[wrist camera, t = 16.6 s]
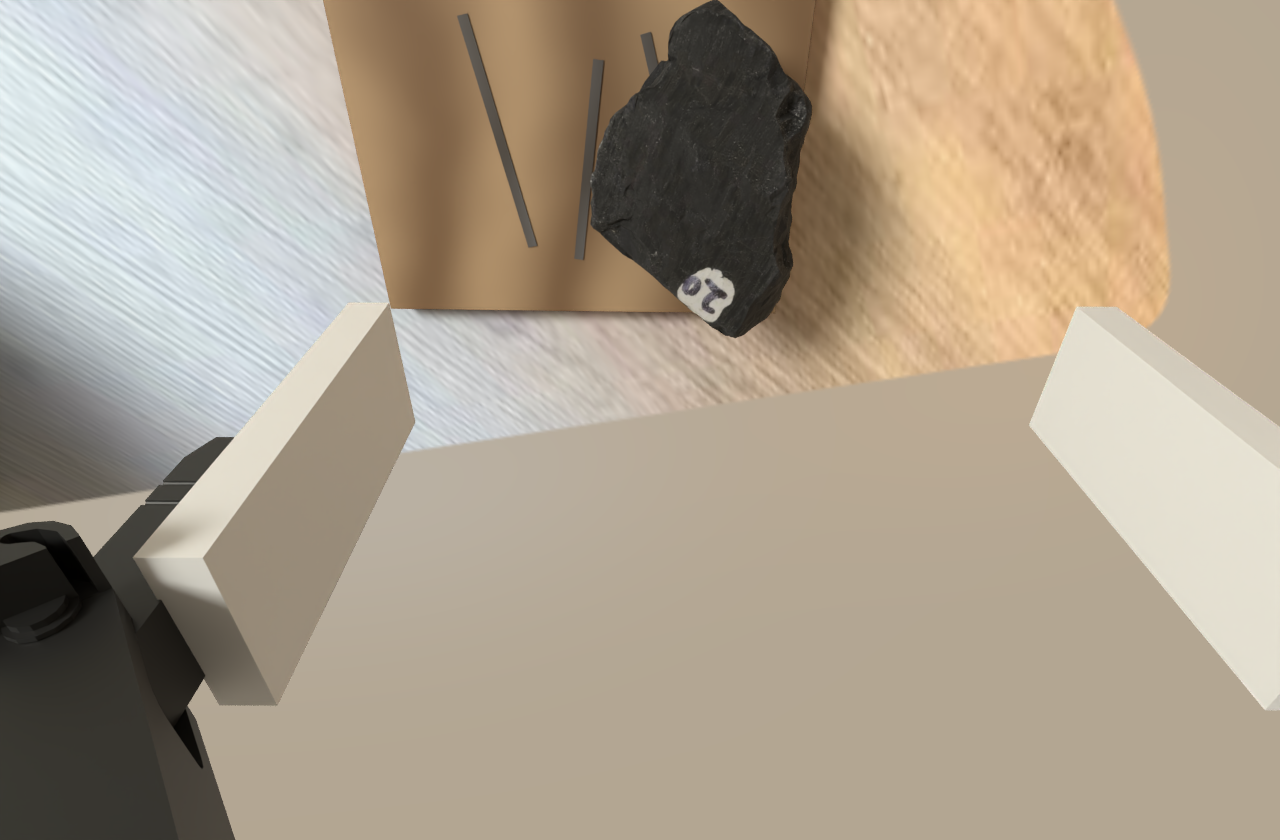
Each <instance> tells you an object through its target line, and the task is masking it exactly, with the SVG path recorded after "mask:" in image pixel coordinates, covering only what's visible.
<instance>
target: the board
mask: <svg viewBox="0 0 1280 840" xmlns="http://www.w3.org/2000/svg"><path fill="white" fill-rule="evenodd" d="M709 1H712V0H323V2H324V6H325V11H326V15H327V20H328V25H329V29H330V34H331V38H332V43H333V47H334V52H335V56H336V61H337V65H338V70H339V74H340V79H341V84H342V88H343V93H344V97H345V102H346V106H347V111H348V115H349V120H350V124H351V129H352V133H353V138H354V143H355V147H356V152H357V156H358V161H359V165H360V170H361V174H362V179H363V183H364V188H365V192H366V197H367V202H368V206H369V211H370V215H371V220H372V224H373V229H374V233H375V238H376V242H377V247H378V251H379V256H380V261H381V265H382V270H383V274H384V279H385V283H386V288H387V292H388V297H389V301H390V306H391V309H466V310H545V311H624V312H692V311H691V310H690V309H689V308H688V307H687V306H686V305H684V304H683V303H682V302H681V301H680V300H678V299H677V298H676V297H675V296H674V295H673V294H672V293H671V292H670V291H668V290H667V289H666V288H665V287H664V286H662V285H661V284H660V283H659V282H658V281H657V280H656V279H655V278H654V277H653V276H652V275H651V274H650V273H648V272H647V271H646V270H644V269H643V268H642V267H641V266H639V265H638V264H637V263H635V262H634V261H633V260H631V259H629V258H628V257H626V256H624V255H623V254H622V253H621V252H619V251H618V250H617V249H616V248H615V247H614V246H613V245H612V244H611V243H609V242H608V241H607V240H606V239H605V238H604V237H603V236H602V235H601V234H600V233H599V232H598V231H596V230H595V229H593V228H592V226H591V225H590V222H591V216H592V213H591V204H590V203H591V199H592V195H593V194H592V189H591V184H590V181H591V175H592V173H593V172H594V171H595V165H596V160H597V151H598V148H599V145H600V143H601V141H602V139H603V137H604V132H605V130H606V128H607V126H608V125H609V121H610V119H611V117H612V116H613V115H614V114H615V113H616V112H617V111H618V110H620V109H621V108H622V107H624V106H625V105H626V104H627V103H628V101H629V99H630V98H631V97H632V96H633V95H634V94H635V93H638V92H639V91H640V89H641V87H642V85H643V84H644V82H645V81H646V79H647V78H648V77H649V76H650V74H651V73H652V72H653V70H654V69H655V68H656V67H657V65H658V64H659V63H660V61H661V60H662V61H667V60H668V40H669V34H670V30H671V29H672V27H673V25H674V24H675V22H676V21H677V20H678V19H679V18H680V17H681V16H682V15H684V14H686V13H688V12H689V11H691V10H693V9H695V8H696V7H698V6H700V5H702V4H704V3H706V2H709ZM718 1H720V2H721V3H722V4H723V5H724V6H725V7H726V8H727V9H729V10H730V11H731V12H732V13H733V14H735V15H736V16H737V17H738V19H739V20H740V21H741V22H742V23H743V24H744V25H745V26H747V27H748V28H750V29H751V30H752V31H754V32H755V33H756V34H757V35H758V36H759V37H760V38H762V39H763V40H764V41H765V42H766V43H767V44H768V45H769V46H770V47H771V48H772V50H773V51H774V53H775V54H776V56H777V58H778V61H779V63H780V65H781V67H782V69H783V71H784V73H785V74H787V75H788V76H790V77H791V78H792V79H794V80H795V81H796V82H797V83H798V84H799V86H800V87H801V89H802V90H803V92H804V86H805V79H806V71H807V63H808V55H809V48H810V40H811V32H812V24H813V17H814V9H815V1H816V0H718ZM775 310H776V305H775V307H774V309H773V311H772V312H771V313H775Z"/></svg>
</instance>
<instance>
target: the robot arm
mask: <svg viewBox="0 0 1280 840" xmlns="http://www.w3.org/2000/svg"><path fill="white" fill-rule="evenodd" d="M414 424H415V418H414V414H413V409H412V405H411V400H410V396H409V391H408V387H407V382H406V377H405V373H404V368H403V364H402V359H401V355H400V350H399V346H398V341H397V337H396V332H395V328H394V323H393V319H392V314H391V310H390V305H389V303H348V304H347V305H346V307H345V308H344V309H343V310H342V311H341V312H340V314H339V315H338V316H337V317H336V318H335V319H334V321H333V322H332V323H331V324H330V325H329V327H328V328H327V329H326V330H325V331H324V332H323V334H322V335H321V336H320V337H319V338H318V340H317V341H316V342H315V343H314V344H313V345H312V347H311V348H310V349H309V350H308V351H307V353H306V354H305V355H304V356H303V357H302V358H301V360H300V361H299V362H298V363H297V364H296V365H295V367H294V368H293V369H292V370H291V371H290V373H289V374H288V375H287V376H286V377H285V378H284V380H283V381H282V382H281V383H280V384H279V386H278V387H277V388H276V389H275V390H274V391H273V393H272V394H271V395H270V396H269V397H268V399H267V400H266V401H265V402H264V403H263V404H262V406H261V407H260V408H259V409H258V410H257V412H256V413H255V414H254V415H253V416H252V417H251V419H250V420H249V421H248V422H247V423H246V424H245V426H244V427H243V428H242V429H241V430H240V432H239V433H238V434H237V435H236V436H235V437H216V438H214V439H213V440H211V441H210V442H208V443H206V444H205V445H203V446H202V447H200V448H198V449H197V450H195V451H194V452H192V453H191V454H189V455H187V456H186V457H184V458H183V460H182V461H181V462H180V463H179V464H178V465H177V466H176V467H175V468H174V469H173V471H172V472H171V473H170V474H169V475H168V476H167V477H166V478H165V479H164V480H163V482H164V483H163V485H159V486H158V487H157V488H156V489H155V490H154V491H153V492H152V494H151V495H150V496H149V497H148V498H147V499H146V500H145V501H146V504H145V505H141V506H140V507H139V508H138V509H137V510H136V511H135V512H134V513H133V514H132V515H131V516H130V518H129V519H128V520H127V521H126V522H125V523H124V524H123V525H122V526H121V528H120V529H119V530H118V531H117V532H116V533H115V534H114V535H113V536H112V537H111V538H110V540H109V541H108V542H107V543H106V544H105V545H104V546H103V547H102V549H100V550H99V552H98V553H97V554H96V555H95V556H94V557H93V556H92V555H91V553H90V551H89V550H88V548H87V547H86V545H85V544H84V542H83V540H82V539H81V537H80V536H79V534H78V533H77V532H76V531H75V529H74V528H73V527H72V526H71V525H67V524H63V523H59V522H55V521H47V522H32V523H26V524H22V525H19V526H15V527H11V528H7V529H4V530H0V840H235V838H234V835H233V832H232V829H231V825H230V823H229V820H228V816H227V813H226V810H225V807H224V804H223V801H222V798H221V795H220V792H219V789H218V786H217V782H216V779H215V777H214V773H213V770H212V767H211V764H210V761H209V758H208V755H207V752H206V749H205V746H204V743H203V740H202V736H201V733H200V730H199V727H198V724H197V721H196V719H195V717H194V715H193V714H192V712H191V711H190V709H189V708H188V706H187V705H188V704H189V702H190V700H191V699H192V697H193V695H194V694H195V692H196V690H197V689H198V687H199V685H200V684H201V682H202V681H203V679H204V680H205V681H206V683H207V685H208V686H209V688H210V690H211V691H212V693H213V695H214V697H215V698H216V700H217V702H218V703H219V705H278V703H279V701H280V699H281V697H282V695H283V693H284V691H285V689H286V687H287V685H288V683H289V681H290V678H291V676H292V674H293V672H294V670H295V668H296V666H297V664H298V662H299V660H300V658H301V656H302V654H303V652H304V650H305V648H306V646H307V644H308V641H309V639H310V637H311V635H312V633H313V631H314V629H315V627H316V625H317V623H318V621H319V619H320V617H321V615H322V613H323V611H324V608H325V607H326V604H327V602H328V600H329V598H330V596H331V594H332V592H333V590H334V588H335V586H336V584H337V582H338V580H339V578H340V576H341V574H342V572H343V569H344V567H345V565H346V563H347V561H348V559H349V557H350V555H351V553H352V551H353V549H354V547H355V545H356V543H357V541H358V539H359V537H360V535H361V533H362V530H363V528H364V526H365V524H366V522H367V520H368V518H369V516H370V514H371V512H372V510H373V508H374V506H375V504H376V502H377V500H378V498H379V496H380V494H381V491H382V489H383V487H384V485H385V483H386V481H387V479H388V477H389V475H390V473H391V471H392V469H393V467H394V464H395V463H396V461H397V459H398V456H399V454H400V452H401V450H402V448H403V446H404V444H405V442H406V440H407V438H408V436H409V434H410V432H411V430H412V428H413V426H414ZM1029 426H1030V427H1031V428H1032V429H1033V431H1034V432H1035V433H1036V434H1037V436H1038V437H1039V438H1040V439H1041V440H1042V442H1043V443H1044V444H1045V445H1046V446H1047V448H1048V449H1049V450H1050V451H1051V452H1052V454H1053V455H1054V456H1055V457H1056V458H1057V460H1058V461H1059V462H1060V463H1061V464H1062V466H1063V467H1064V468H1065V469H1066V471H1067V472H1068V473H1069V474H1070V475H1071V477H1072V478H1073V479H1074V480H1075V481H1076V483H1077V484H1078V485H1079V486H1080V487H1081V489H1082V490H1083V491H1084V492H1085V493H1086V495H1087V496H1088V497H1089V498H1090V500H1091V501H1092V502H1093V503H1094V504H1095V505H1096V507H1097V508H1098V509H1099V510H1100V512H1101V513H1102V514H1103V515H1104V516H1105V518H1106V519H1107V520H1108V521H1109V522H1110V524H1111V525H1112V526H1113V527H1114V528H1115V530H1116V531H1117V532H1118V533H1119V535H1121V537H1122V538H1123V539H1124V541H1125V542H1126V543H1127V544H1128V545H1129V546H1130V548H1131V549H1132V550H1133V551H1134V552H1135V554H1136V555H1137V556H1138V557H1139V559H1140V560H1141V561H1142V562H1143V563H1144V565H1145V566H1146V567H1147V568H1148V569H1149V571H1150V572H1151V573H1152V574H1153V576H1154V577H1155V578H1156V579H1157V580H1158V582H1159V583H1160V584H1161V585H1162V586H1163V587H1164V589H1165V590H1166V591H1167V592H1168V594H1169V595H1170V596H1171V597H1172V598H1173V599H1174V601H1175V602H1176V603H1177V605H1178V606H1179V607H1180V608H1181V609H1182V611H1183V612H1184V613H1185V614H1186V615H1187V616H1188V618H1189V619H1190V620H1191V621H1192V622H1193V624H1194V625H1195V626H1196V627H1197V629H1198V630H1199V631H1200V632H1201V633H1202V634H1203V636H1204V637H1205V638H1206V639H1207V641H1208V642H1209V643H1210V644H1211V645H1212V647H1213V648H1214V649H1215V650H1216V652H1217V653H1218V654H1219V655H1220V656H1221V657H1222V659H1223V660H1224V661H1225V662H1226V664H1227V665H1228V666H1229V667H1230V668H1231V670H1232V671H1233V672H1234V673H1235V675H1236V676H1237V677H1238V678H1239V679H1240V681H1241V682H1242V683H1243V684H1244V685H1245V687H1246V688H1247V689H1248V690H1249V691H1250V692H1251V694H1252V695H1253V696H1254V697H1255V699H1256V700H1257V701H1258V702H1259V703H1260V705H1261V706H1262V707H1263V708H1264V710H1280V427H1279V426H1278V425H1276V424H1275V423H1274V422H1272V421H1271V420H1270V419H1268V418H1267V417H1265V416H1264V415H1263V414H1261V413H1260V412H1259V411H1257V410H1256V409H1255V408H1253V407H1252V406H1251V405H1249V404H1248V403H1247V402H1245V401H1244V400H1242V399H1241V398H1240V397H1238V396H1237V395H1235V394H1234V393H1233V392H1232V391H1230V390H1229V389H1227V388H1226V387H1225V386H1223V385H1222V384H1221V383H1219V382H1218V381H1216V380H1215V379H1214V378H1213V377H1211V376H1210V375H1208V374H1207V373H1206V372H1204V371H1203V370H1202V369H1200V368H1199V367H1198V366H1196V365H1195V364H1193V363H1192V362H1191V361H1189V360H1188V359H1187V358H1185V357H1184V356H1183V355H1181V354H1180V353H1179V352H1177V351H1176V350H1174V349H1173V348H1172V347H1170V346H1169V345H1168V344H1166V343H1165V342H1163V341H1162V340H1161V339H1159V338H1158V337H1157V336H1155V335H1154V334H1153V333H1151V332H1150V331H1149V330H1147V329H1146V328H1145V327H1143V326H1142V325H1140V324H1139V323H1138V322H1136V321H1135V320H1134V319H1132V318H1131V317H1130V316H1128V315H1127V314H1126V313H1124V312H1123V311H1121V310H1120V309H1119V308H1117V307H1076V310H1075V312H1074V315H1073V317H1072V320H1071V322H1070V325H1069V327H1068V330H1067V332H1066V335H1065V337H1064V340H1063V342H1062V345H1061V347H1060V350H1059V352H1058V355H1057V357H1056V360H1055V362H1054V365H1053V367H1052V369H1051V372H1050V375H1049V377H1048V379H1047V382H1046V384H1045V387H1044V389H1043V392H1042V394H1041V397H1040V399H1039V402H1038V404H1037V407H1036V409H1035V412H1034V414H1033V417H1032V419H1031V422H1030V424H1029Z"/></svg>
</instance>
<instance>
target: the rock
mask: <svg viewBox="0 0 1280 840" xmlns="http://www.w3.org/2000/svg"><path fill="white" fill-rule="evenodd" d="M811 115H812V105H811V102H810V100H809V98H808V97H807V96H806V94H805V93H804V92H803V90H802V89H801V87H800V86H799V84H798V83H797V82H796V81H795V80H794V79H792V78H791V77H790V76H788V75H787V74H785V73H784V71H783V69H782V67H781V65H780V63H779V61H778V58H777V56H776V54H775V53H774V51H773V50H772V48H771V47H770V46H769V45H768V44H767V43H766V42H765V41H764V40H763V39H762V38H760V37H759V36H758V35H757V34H756V33H755V32H754V31H752V30H751V29H750V28H748V27H747V26H745V25H744V24H743V23H742V22H741V21H740V20H739V19H738V17H737V16H736V15H735V14H733V13H732V12H731V11H730V10H729V9H727V8H726V7H725V6H724V5H723V4H722V3H721V2H720V1H718V0H712V1H709V2H706V3H704V4H702V5H700V6H698V7H696V8H695V9H693V10H691V11H689V12H688V13H686V14H684V15H682V16H681V17H680V18H679V19H678V20H677V21H676V22H675V24H674V25H673V27H672V29H671V30H670V34H669V40H668V60H667V61H662V60H661V61H660V63H659V64H658V65H657V67H656V68H655V69H654V70H653V72H652V73H651V74H650V76H649V77H648V78H647V79H646V81H645V82H644V84H643V85H642V87H641V89H640V91H639V92H638V93H635V94H634V95H633V96H632V97H631V98H630V99H629V101H628V103H627V104H626V105H625V106H624V107H622V108H621V109H620V110H618V111H617V112H616V113H615V114H614V115H613V116H612V117H611V119H610V121H609V125H608V126H607V128H606V130H605V132H604V137H603V139H602V141H601V143H600V145H599V148H598V151H597V160H596V165H595V171H594V172H593V173H592V175H591V181H590V184H591V189H592V194H593V195H592V199H591V203H590V204H591V213H592V216H591V222H590V225H591V226H592V228H593V229H595V230H596V231H598V232H599V233H600V234H601V235H602V236H603V237H604V238H605V239H606V240H607V241H608V242H609V243H611V244H612V245H613V246H614V247H615V248H616V249H617V250H618V251H619V252H621V253H622V254H623V255H624V256H626V257H628V258H629V259H631V260H633V261H634V262H635V263H637V264H638V265H639V266H641V267H642V268H643V269H644V270H646V271H647V272H648V273H650V274H651V275H652V276H653V277H654V278H655V279H656V280H657V281H658V282H659V283H660V284H661V285H662V286H664V287H665V288H666V289H667V290H668V291H670V292H671V293H672V294H673V295H674V296H675V297H676V298H677V299H678V300H680V301H681V302H682V303H683V304H684V305H686V306H687V307H688V308H689V309H690V310H691V311H692V312H694V313H695V314H697V315H698V316H700V317H701V318H702V319H703V320H704V321H705V322H706V323H708V324H709V325H710V326H711V327H712V328H714V329H716V330H718V331H720V332H721V333H722V334H724V335H725V336H730V337H734V338H736V337H739V336H742V335H744V334H746V333H747V332H748V331H749V330H750V329H751V328H753V327H754V326H756V325H757V324H758V323H760V322H762V321H763V320H765V319H766V318H767V317H768V316H769V315H770V313H771V312H772V311H773V309H774V307H775V305H776V304H777V303H778V301H779V300H780V297H781V292H782V290H783V288H784V286H785V284H786V282H787V281H788V279H789V277H790V271H791V269H792V267H793V259H792V253H791V250H790V248H789V243H788V241H789V233H790V226H791V222H792V214H791V203H792V196H793V192H794V190H795V188H796V184H797V173H798V168H799V161H800V150H801V148H802V145H803V143H804V138H805V135H806V133H807V130H808V128H809V124H810V119H811Z"/></svg>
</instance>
